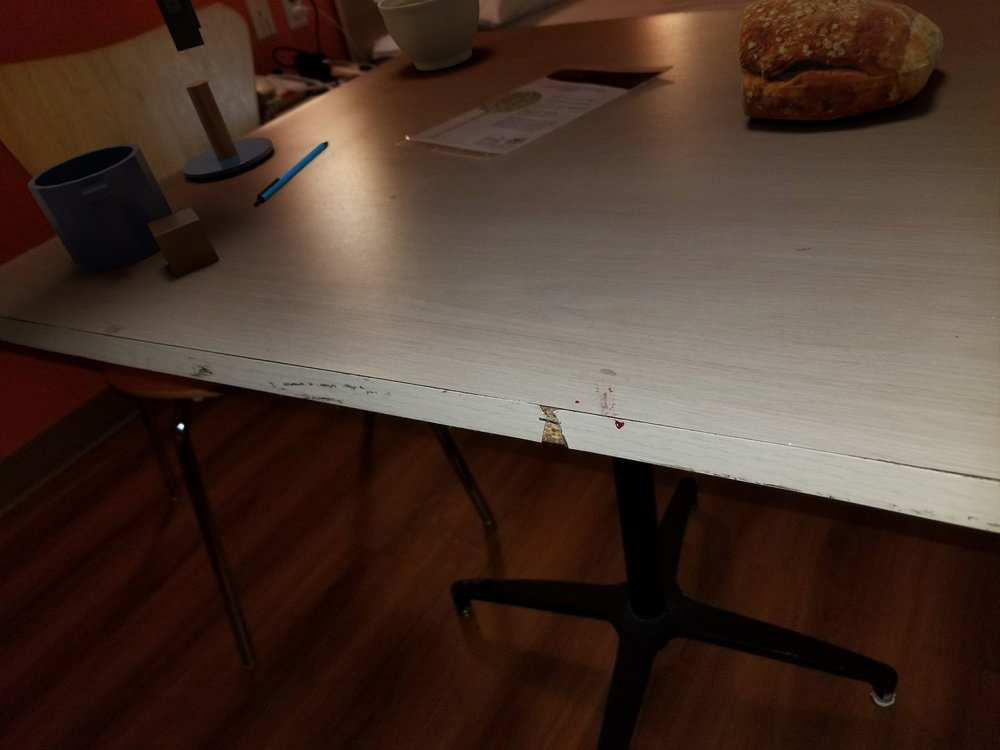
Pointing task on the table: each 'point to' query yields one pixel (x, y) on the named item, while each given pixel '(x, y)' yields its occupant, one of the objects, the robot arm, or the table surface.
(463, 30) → the planter bowl
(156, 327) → the table surface
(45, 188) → the pot
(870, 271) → the table surface
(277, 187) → the pen
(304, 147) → the table surface
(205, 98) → the lid
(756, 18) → the bread
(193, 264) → the block
